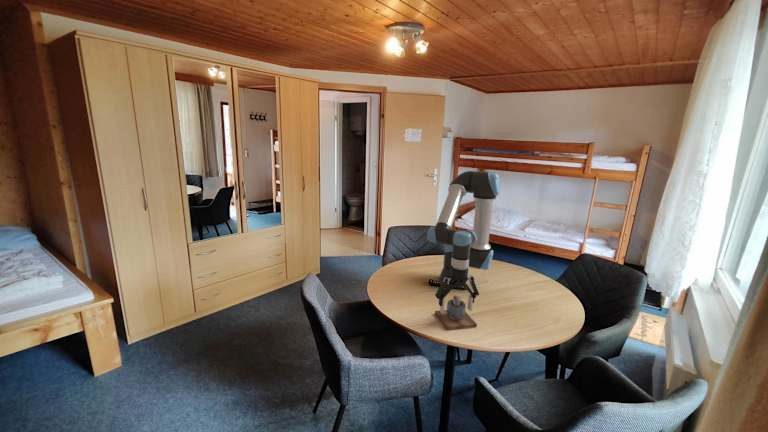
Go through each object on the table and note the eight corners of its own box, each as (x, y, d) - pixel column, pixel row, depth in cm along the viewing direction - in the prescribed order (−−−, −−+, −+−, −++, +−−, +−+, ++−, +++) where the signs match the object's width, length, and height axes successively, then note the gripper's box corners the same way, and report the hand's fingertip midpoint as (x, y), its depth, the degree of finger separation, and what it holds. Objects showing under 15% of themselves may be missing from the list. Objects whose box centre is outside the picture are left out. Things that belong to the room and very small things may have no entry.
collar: (459, 308, 153) (460, 298, 152) (466, 316, 146) (467, 306, 145) (444, 310, 151) (445, 300, 150) (451, 318, 144) (452, 307, 143)
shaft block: (462, 311, 158) (464, 289, 155) (476, 327, 144) (479, 303, 142) (434, 313, 154) (436, 291, 152) (447, 330, 141) (449, 305, 139)
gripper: (481, 262, 150) (476, 304, 155) (429, 265, 144) (426, 309, 149) (489, 268, 143) (485, 312, 148) (436, 271, 137) (433, 317, 142)
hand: (455, 310), depth 148 cm, fingers open, 13 cm apart
